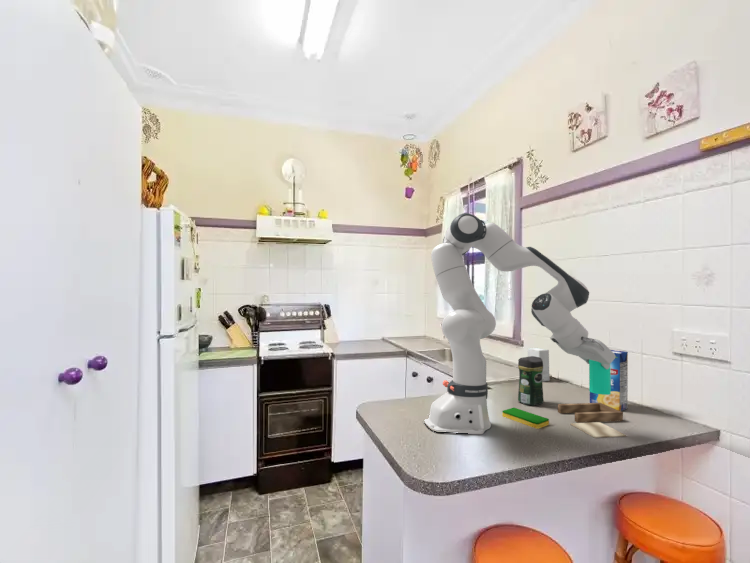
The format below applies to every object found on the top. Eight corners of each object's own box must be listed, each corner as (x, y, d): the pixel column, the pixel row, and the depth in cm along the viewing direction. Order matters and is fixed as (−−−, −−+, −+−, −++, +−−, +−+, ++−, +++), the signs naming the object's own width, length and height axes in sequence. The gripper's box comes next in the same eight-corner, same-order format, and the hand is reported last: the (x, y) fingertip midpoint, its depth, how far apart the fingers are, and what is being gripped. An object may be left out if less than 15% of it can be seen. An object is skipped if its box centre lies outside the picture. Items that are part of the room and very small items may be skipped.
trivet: (594, 437, 113) (594, 436, 113) (570, 424, 123) (570, 423, 123) (626, 436, 114) (626, 435, 114) (599, 423, 125) (599, 422, 125)
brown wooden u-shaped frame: (577, 422, 125) (577, 414, 125) (557, 412, 136) (557, 404, 136) (622, 420, 128) (622, 412, 128) (599, 410, 138) (600, 402, 138)
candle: (614, 395, 115) (613, 357, 116) (593, 393, 116) (593, 355, 117) (605, 391, 121) (605, 354, 122) (586, 389, 122) (586, 353, 123)
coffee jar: (529, 398, 153) (529, 354, 153) (546, 403, 146) (547, 357, 146) (514, 401, 148) (514, 356, 148) (531, 407, 141) (531, 359, 141)
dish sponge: (513, 413, 135) (513, 407, 135) (549, 425, 123) (549, 418, 123) (501, 417, 131) (501, 410, 131) (537, 430, 119) (537, 422, 119)
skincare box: (549, 381, 181) (550, 350, 181) (539, 382, 179) (539, 350, 179) (537, 377, 189) (537, 347, 189) (527, 378, 187) (527, 347, 187)
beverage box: (619, 411, 137) (620, 353, 138) (589, 403, 146) (589, 349, 147) (627, 408, 141) (627, 351, 141) (597, 400, 150) (597, 347, 151)
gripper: (602, 332, 108) (631, 365, 109) (558, 325, 128) (583, 352, 129) (589, 347, 107) (618, 380, 109) (547, 337, 128) (572, 365, 129)
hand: (599, 365), depth 119 cm, fingers closed on candle, 6 cm apart
